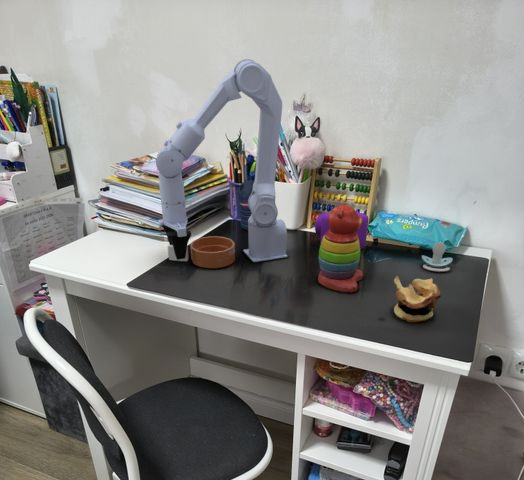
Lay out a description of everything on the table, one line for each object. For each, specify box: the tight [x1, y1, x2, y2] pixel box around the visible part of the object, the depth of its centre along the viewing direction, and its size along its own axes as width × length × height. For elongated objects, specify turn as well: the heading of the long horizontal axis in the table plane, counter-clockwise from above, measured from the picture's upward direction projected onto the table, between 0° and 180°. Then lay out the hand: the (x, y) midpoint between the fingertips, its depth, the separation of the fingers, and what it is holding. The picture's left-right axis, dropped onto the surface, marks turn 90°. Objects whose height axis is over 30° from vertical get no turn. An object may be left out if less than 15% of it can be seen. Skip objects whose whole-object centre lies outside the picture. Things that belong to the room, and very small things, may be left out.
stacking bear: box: [317, 202, 364, 294], centre depth 112 cm, size 11×10×18 cm
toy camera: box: [314, 211, 369, 250], centre depth 131 cm, size 11×14×10 cm
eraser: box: [167, 244, 190, 262], centre depth 126 cm, size 1×5×4 cm, turn 79°
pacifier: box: [421, 241, 454, 273], centre depth 121 cm, size 7×6×6 cm
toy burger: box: [393, 275, 442, 323], centre depth 101 cm, size 12×10×8 cm
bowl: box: [189, 235, 236, 269], centre depth 125 cm, size 11×11×4 cm
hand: (178, 254), depth 126 cm, fingers open, 5 cm apart
